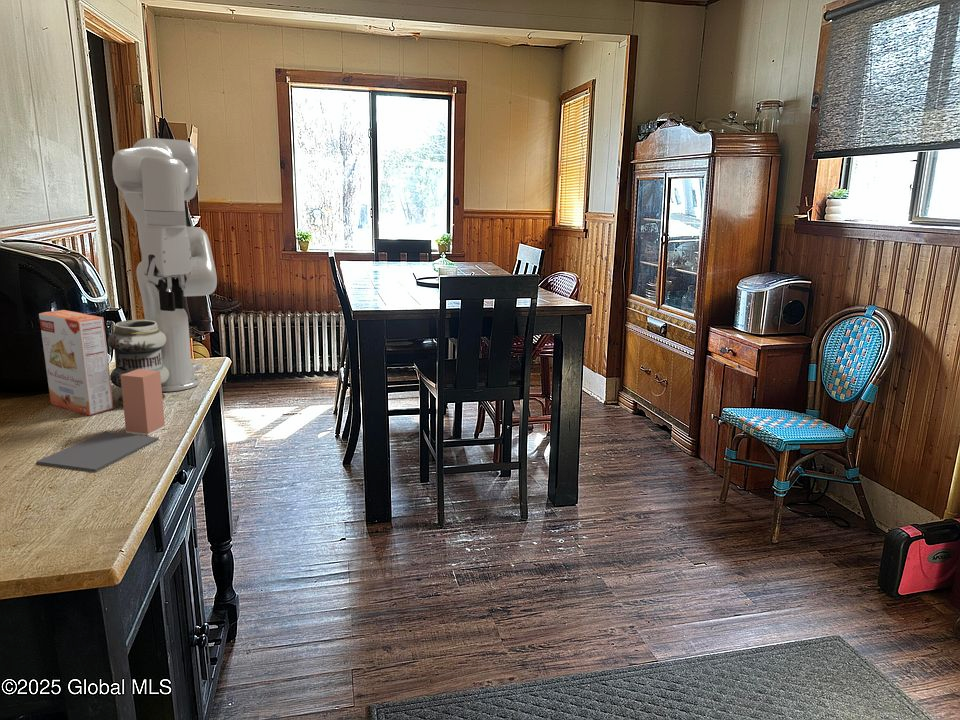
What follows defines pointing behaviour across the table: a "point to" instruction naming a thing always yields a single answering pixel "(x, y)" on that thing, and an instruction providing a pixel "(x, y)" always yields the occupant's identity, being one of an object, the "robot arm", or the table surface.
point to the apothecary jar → (137, 349)
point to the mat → (97, 451)
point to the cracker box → (76, 361)
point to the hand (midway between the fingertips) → (172, 308)
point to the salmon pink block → (142, 401)
